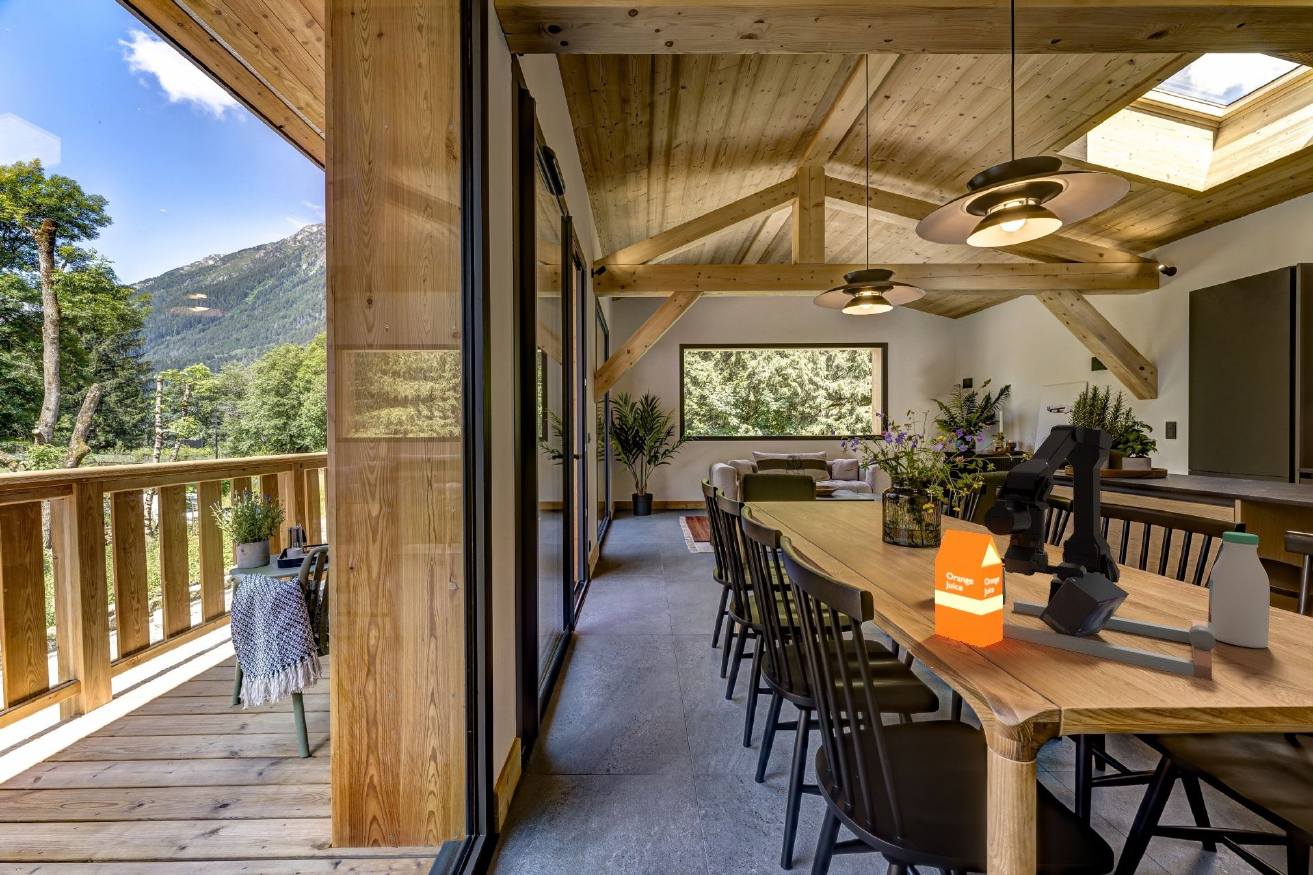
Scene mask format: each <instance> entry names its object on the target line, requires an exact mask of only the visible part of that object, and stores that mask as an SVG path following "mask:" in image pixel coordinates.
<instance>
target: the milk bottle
mask: <svg viewBox="0 0 1313 875" xmlns="http://www.w3.org/2000/svg"><path fill="white" fill-rule="evenodd" d="M1259 543H1260V538H1259V536H1258V535H1256V534H1252V533H1246V532H1245V533H1244V532H1236V531H1224V532H1222V544H1223V550H1222V552H1221V554H1220V556H1219V558H1218V560H1217V561H1216V562H1215V563H1214V565H1213V567H1212V569H1211V571H1210V577H1209V589H1208V595H1209V596H1208V613H1207V614H1208V615H1207V616H1208V617H1207V619H1208V620H1207V627H1208V628H1209V629H1211V630H1212V632H1213V633H1214V636H1215V641H1216V640H1217V641H1219V642H1224V643H1226V644H1231V645H1235V646H1240V647H1244V648H1245V647H1246V648H1253V649H1264V648H1267V647H1268V645H1269V639H1270V638H1269V636H1270V635H1269V634H1270V633H1269V632H1270V606H1271V604H1270V602H1271V601H1270V598H1271V597H1270V596H1271V592H1270V580H1269V576H1268V574H1267V571H1266V570H1265V568H1264V566H1263V564H1262V562H1261V561H1260V558H1259V555H1258V552H1257V549H1258V548H1259V547H1260V546H1259Z"/></svg>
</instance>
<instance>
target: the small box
mask: <svg viewBox="0 0 1313 875" xmlns="http://www.w3.org/2000/svg"><path fill="white" fill-rule="evenodd" d="M1129 595H1130V593H1129V592H1127V591H1126V590H1125V589H1123V588H1122V587H1121V586H1118V585H1117V584H1116V583H1113V582H1111V581H1110V580H1108V579H1107V578H1106V577H1104V576H1103V575H1101V574H1100V573H1099V572H1095V573H1090V574H1085V575H1084V576H1083V578H1080V577H1077V576H1075V577H1070V578H1067V579H1066V580H1065V582H1064V583H1063V584H1062V586H1061V587H1060V589H1059V590H1058V591H1057V593H1056V594H1055V596H1054V597H1053V599H1052V600H1051V601H1050V603H1049V604H1048V603H1047V607H1046V608H1045V609H1044V611H1043V612H1042V613H1041V615H1040V616H1037V618H1038V619H1039V620H1040V621H1042V622H1043V623H1044V624H1045V625H1047V626H1048V627H1049V628H1051V630H1053V631H1054V633H1057V634H1062V635H1067V636H1072V637H1078V638H1087V637H1089V636H1092V635H1097V634H1099V633H1100V632H1101V630H1102V629H1103V628H1104V625H1105V624H1106V623H1107V621H1108V620H1109V619H1110V618H1111V616H1113V615H1114V614H1115V613H1116V612H1117V610H1118V609H1119V607H1121V605H1122V604H1123V603H1124V601H1125V600H1126V599H1127V598H1128V596H1129Z"/></svg>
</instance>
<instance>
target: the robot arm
mask: <svg viewBox="0 0 1313 875" xmlns="http://www.w3.org/2000/svg"><path fill="white" fill-rule="evenodd" d="M1112 445H1113V438H1112V436H1111V434H1110V433H1108V432H1107V431H1106V430H1105V429H1104V428H1090V427H1084V426H1083V425H1078V424H1056V425H1053V426H1052V427H1051V428H1050V432H1049V435H1048V436H1047V437H1046V439H1045V440H1044V441H1043V442H1042V444H1041V445H1040V446H1039V447H1038V449H1037V450H1036V451H1035V452H1034V454H1033V455H1032V456H1031V457H1030V458H1029V459H1028V460H1027V461H1025V462H1021V463H1018V464H1016V465H1015V466H1014V467H1012V468H1011V469H1010V470H1009V471H1008V472H1007V473H1006V475H1005V477H1004V478H1003V481H1002V483H1001V486H1000V488H999V491H998V493H997V495H996V498H995V500H994V505H993V506H992V507H990V508H988V509H987V511H986V512H985V515H984V516H983V521H984V524H985V527H986V528H987V530H988V531H989V532H990V533H992V534H993V535H996V536H1000V537H1001V536H1009V535H1010V536H1009V544H1008V547H1007V549H1006V552H1005V553H1004V555H1003V557H1000V558H1001V561H1002V594H1003V606H1005V604H1006V599H1007V598H1006V597H1007V594H1006V593H1007V592H1006V591H1007V590H1006V576H1005V575H1006V574H1005V572H1007V573H1009V574H1014V573H1015V574H1021V575H1024V576H1027V577H1032V576H1034V575H1035V573H1038V574H1045V575H1051V576H1052V577H1053V579H1052V580H1050V583H1049V585H1050V586H1049V588H1050V589H1049V595H1048V599H1047V600H1048V601H1047V605H1048V604H1049V603H1050V601H1051V600H1052V599H1053V597H1054V596H1055V594H1056V593H1057V591H1058V590H1059V589H1060V587H1061V586H1062V584H1063V583H1064V582H1065V580H1066V579H1067V578H1070V577H1075V576H1077V577H1080V578H1083V576H1084V575H1085V574H1090V573H1095V572H1099V573H1100V574H1101V575H1103V576H1104V577H1106V578H1107V579H1108V580H1110V581H1111V582H1113V583H1114V584H1116V583H1117V584H1118V583H1119V580H1120V577H1121V575H1120V574H1121V570H1120V569H1119V567H1118V565H1117V563H1116V561H1115V560H1114V558H1113V556H1112V554H1111V545H1110V544H1109V543H1108V542H1107V540H1106V538H1105V537H1104V536H1103V534H1102V532H1101V529H1102V528H1101V523H1102V522H1101V468H1102V467H1103V465H1104V464H1105V462H1107V460H1108V459H1109V458H1110V449H1111V448H1112ZM1065 460H1066V461H1067V462H1068V464H1069V465H1070V467H1071V468H1072V494H1073V495H1072V502H1073V503H1072V505H1073V507H1072V508H1073V509H1072V511H1073V514H1072V518H1073V519H1072V520H1073V523H1072V524H1073V532H1072V534H1071V535H1070V536H1069V538H1068V539H1065V540H1064V541H1063V543H1062V544H1063V545H1062V547H1063V552H1062V557H1061V558H1062V562H1060V563H1059V564H1058V565H1053V564H1052V565H1051V564H1049V554H1048V551H1045V532H1046V531H1045V527H1046V526H1045V525H1046V522H1045V521H1046V519H1045V517H1046V510H1049V509H1050V506H1049V504H1048V503H1047V502H1046V501H1047V499H1048V498H1049V496H1050V494H1051V493H1052V492H1053V490H1054V487H1055V485H1056V484H1055V480H1054V478H1053V477H1054V474H1055V473H1056V472H1057V470H1058V469H1059V467H1060V466H1061V465H1062V463H1063V462H1064V461H1065Z"/></svg>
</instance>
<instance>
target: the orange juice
mask: <svg viewBox="0 0 1313 875" xmlns="http://www.w3.org/2000/svg"><path fill="white" fill-rule="evenodd" d="M943 536H944V538H943V537H942V539H943V541H942V540H941V541H942V543H941V544H940V547H939V550H938V552H937V555H936V557H935V558H934V574H935V575H934V576H935V577H934V581H935V582H934V584H935V585H934V587H935V590H934V603H935V604H934V605H935V606H934V608H935V609H934V610H935V614H934V615H935V616H934V617H935V619H934V620H935V623H934V624H935V626H934V627H935V635H938V634H939V635H938V636H941V637H944V636H945V638H948V637H949V638H948V639H951V640H955V641H958V642H960V641H962V642H961V643H964V644H967V643H969V644H968V645H970V646H973V645H975V646H974V647H976V646H978V647H977V648H980V647H983V648H985V647H987V645H988V646H991V645H992V644H996V643H998V642H1001V641H1003V638H1004V636H1003V623H1004V622H1003V608H1004V605H1003V594H1002V568H1003V567H1002V561H1001V558H1002V557H1001V556H1000V554H999V552H998V549H997V546H996V544H995V541H994V538H993V535H989V534H982V533H976V532H968V531H961V530H954V529H946V530H945V533H944V535H943Z"/></svg>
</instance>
